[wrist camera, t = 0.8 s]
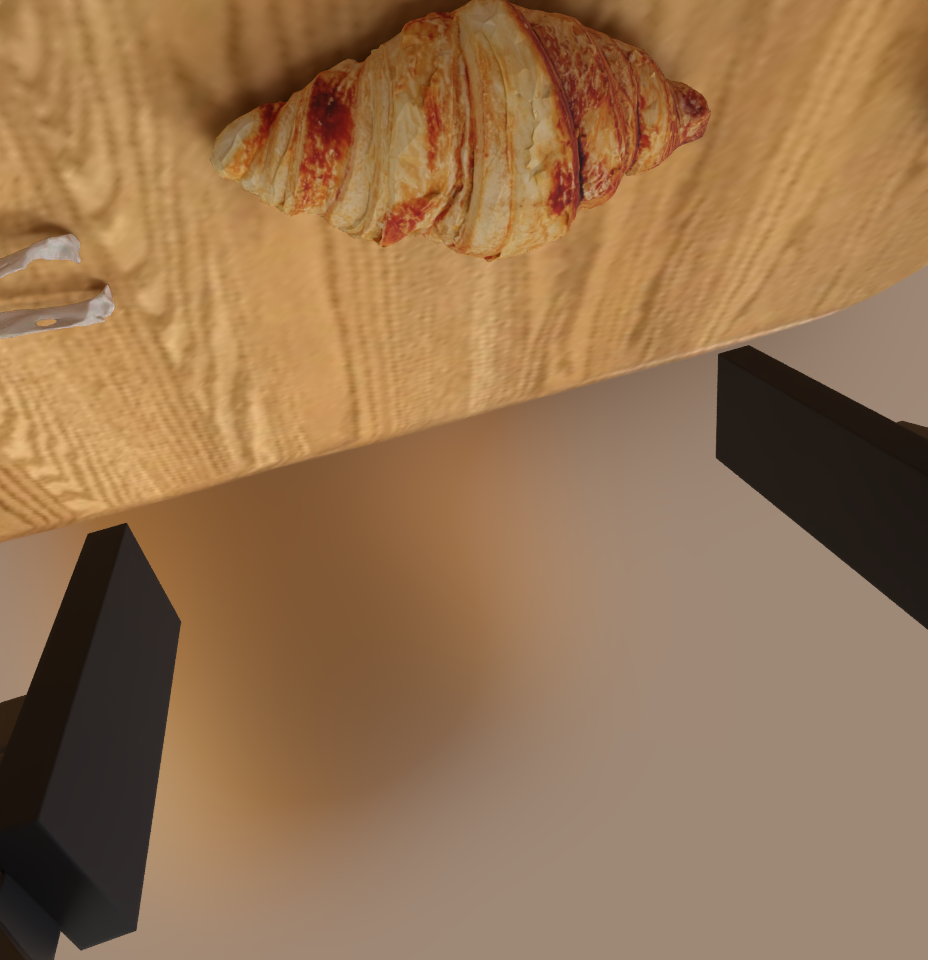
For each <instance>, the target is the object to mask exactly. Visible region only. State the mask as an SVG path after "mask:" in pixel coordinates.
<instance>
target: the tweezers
mask: <svg viewBox="0 0 928 960" xmlns="http://www.w3.org/2000/svg"><path fill="white" fill-rule="evenodd" d="M79 250H80V242H79V241H78V239H76V238H75V236H74V235H72V234H66V235H61V236H54V237H50V238H46V239H42V240H40V241H38V242H36V243H33V244H32V245H30V246H29V247H27V248H24V249H22V250H20V251H18V252H15V253H13V254H11V255H8V256H6V257H4V258H1V259H0V278H1V277H4V276H6V275H7V274H9V273H13V272H16V271H18V270H22V269H24V268H26V267H27V264H28V263H30V262H31V261H33V260H35V259H37V258H40V259H46V260H54V259H61V260H65V259H68V260H71V261H74V262H76V263H78V264H79V263H80V262H81V261H80V256H79ZM114 307H115V304H114V302H113V300H112V295H111V291H110V288H109V286H108V285H106V286H105V287H104V289H103V290H102V291H101V292H100V293H99V294H98V295H96V296H95V297H93V298H91V299H88V300H85V301H82V302H79V303H75V304H70V305H63V306H57V307H49V308H41V309H23V310H14V311H8V312H2V313H0V339H4V338H12V337H16V336H22V335H27V334H31V333H37V332H42V331H48V330H54V329H60V328H70V327H74V326H88V325H91V324H95V323H100V322H104V321H105V317H107V316H110V315H111V313H112V311H113V310H114ZM46 319H55V320H57V322H56V323H54V324H52V325H49V326H38V325H36V322H37V321H39V320H46Z"/></svg>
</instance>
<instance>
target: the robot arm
mask: <svg viewBox="0 0 928 960" xmlns="http://www.w3.org/2000/svg"><path fill="white" fill-rule="evenodd" d="M717 384H718V385H717V427H716V428H717V429H716V458H717V459H718V460H719V461H720V462H722V463H723V464H724V465H725V466H727V467H728V468H729V469H730V470H732V471H733V472H734V473H735V474H736V475H738V476H739V477H740V478H741V479H743V480H744V481H745V482H746V483H748V484H749V485H750V486H751V487H752V488H754V489H755V490H756V491H757V492H759V493H760V494H761V495H762V496H764V497H765V498H766V499H767V500H769V501H770V502H771V503H772V504H773V505H775V506H776V507H777V508H778V509H780V510H781V511H782V512H783V513H785V514H786V515H787V516H788V517H789V518H791V519H792V520H793V521H794V522H796V523H797V524H798V525H799V526H801V527H802V528H803V529H804V530H806V531H807V532H808V533H809V534H810V535H812V536H813V537H814V538H815V539H817V540H818V541H819V542H820V543H822V544H823V545H824V546H825V547H826V548H828V549H829V550H830V551H831V552H833V553H834V554H835V555H836V556H838V557H839V558H840V559H841V560H842V561H844V562H845V563H846V564H848V565H849V566H850V567H851V568H852V569H854V570H855V571H856V572H857V573H859V574H860V575H861V576H862V577H864V578H865V579H866V580H867V581H868V582H870V583H871V584H872V585H873V586H875V587H876V588H877V589H878V590H879V591H881V592H882V593H883V594H885V595H886V596H887V597H888V598H889V599H891V600H892V601H893V602H895V603H896V604H897V605H898V606H899V607H900V608H902V609H903V610H904V611H905V612H907V613H908V614H909V615H910V616H912V617H913V618H914V619H915V620H917V621H918V622H919V623H920V624H921V625H923V626H924V627H925V628H926V629H928V427H924V426H920V425H916V424H912V423H908V422H905V421H900V422H897V423H896V422H894V421H892V420H890V419H888V418H886V417H884V416H882V415H880V414H878V413H877V412H875V411H873V410H871V409H869V408H867V407H865V406H863V405H861V404H860V403H858V402H856V401H854V400H852V399H850V398H848V397H846V396H844V395H842V394H841V393H839V392H837V391H835V390H833V389H831V388H829V387H827V386H825V385H823V384H822V383H820V382H818V381H816V380H814V379H812V378H810V377H808V376H806V375H805V374H803V373H801V372H799V371H797V370H795V369H793V368H791V367H789V366H787V365H785V364H784V363H782V362H780V361H778V360H776V359H774V358H772V357H770V356H768V355H766V354H765V353H763V352H761V351H759V350H757V349H755V348H753V347H751V346H749V345H748V346H744V347H741V348H737V349H734V350H730V351H727V352H723V353H720V354H718V383H717ZM180 625H181V621H180V619H179V617H178V615H177V613H176V612H175V610H174V608H173V606H172V604H171V602H170V601H169V599H168V597H167V595H166V593H165V591H164V590H163V588H162V586H161V584H160V582H159V581H158V579H157V577H156V575H155V573H154V571H153V570H152V568H151V566H150V564H149V562H148V561H147V559H146V557H145V555H144V553H143V551H142V550H141V548H140V546H139V544H138V542H137V541H136V539H135V537H134V535H133V533H132V532H131V530H130V528H129V526H128V524H127V523H124V524H121V525H118V526H114V527H110V528H107V529H103V530H100V531H96V532H93V533H89V534H88V535H87V538H86V540H85V543H84V545H83V548H82V551H81V553H80V556H79V559H78V561H77V564H76V566H75V569H74V571H73V574H72V577H71V579H70V582H69V585H68V587H67V590H66V592H65V595H64V598H63V600H62V603H61V606H60V608H59V611H58V613H57V616H56V619H55V621H54V624H53V627H52V630H51V632H50V634H49V637H48V640H47V642H46V645H45V648H44V650H43V653H42V655H41V658H40V661H39V663H38V666H37V669H36V671H35V674H34V677H33V679H32V682H31V684H30V687H29V690H28V692H27V695H24V696H21V697H17V698H14V699H11V700H8V701H4V702H1V703H0V960H54V957H55V953H56V948H57V944H58V940H59V936H60V931H61V932H63V933H64V934H65V935H66V937H68V939H70V940H71V941H72V942H73V943H74V944H75V945H76V946H77V947H78V948H79V949H80V950H83V949H86V948H89V947H92V946H95V945H97V944H100V943H103V942H106V941H109V940H112V939H114V938H117V937H120V936H123V935H125V934H128V933H131V932H134V931H136V929H137V922H138V915H139V908H140V901H141V895H142V887H143V881H144V874H145V867H146V859H147V853H148V846H149V839H150V832H151V825H152V819H153V812H154V805H155V798H156V790H157V784H158V777H159V769H160V763H161V755H162V749H163V742H164V736H165V729H166V721H167V715H168V708H169V701H170V694H171V687H172V680H173V673H174V666H175V659H176V652H177V645H178V639H179V632H180Z"/></svg>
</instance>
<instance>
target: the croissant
mask: <svg viewBox="0 0 928 960" xmlns="http://www.w3.org/2000/svg"><path fill="white" fill-rule="evenodd" d="M710 115H711V111H710V110H709V108H708V105H707V101H706V100H705V98H704V97H703V95H702V94H700V93H699V92H697V91H696V90H694V89H692V88H691V87H689V86H688V85H686V84H684V83H682V82H674V81H669V80H668V79H666V78H665V77H664V75H663V74H662V72H661V70H660V68H659V67H658V66H657V65H656V63H655V62H654V61H653V60H652V59H651V58H650V57H649V56H648V54H647V53H646V52H645V51H644V50H642V49H640V48H637V47H634V46H632V45H628V44H626V43H624V42H622V41H620V40H617V39H611V38H610V37H609V36H608V35H607V34H604V33H602V32H600V31H597V30H595V29H593V28H589V27H585V26H583V25H582V24H581V23H580V22H579V21H578V20H577V19H576V18H573V17H570V16H567V15H564V14H561V13H547V12H544V11H541V10H530V9H527V8H524V7H521V6H518V5H515V4H512V3H510V2H508V1H507V0H471V1H470V2H468V3H467V4H466V5H465V6H462V7H460V8H458V9H456V10H454V11H453V12H432V13H429V14H427V15H425V16H423V17H421V18H418V19H415V20H412V21H409V22H408V23H407V24H405V25H404V27H403V29H402V32H401V33H399V34H398V35H396V36H395V37H393V38H392V39H391V40H389V41H387V42H386V43H384V44H381V45H380V46H379V48H378V49H374V50H371V55H369V56H368V57H367V58H366V59H365V61H364V62H360V63H358V62H357V61H356V60H353V59H347V60H344V61H342V62H340V63H339V64H337V65H336V66H334V67H332V68H331V69H329V70H327V71H323V72H320V73H319V74H318V75H317V76H316V77H315V78H314V79H313V81H311V82H310V83H309V84H308V85H307V86H306V87H305V88H304V89H303V90H300V91H298V92H295V93H293V95H292V96H291V97H290V99H289V100H288V102H277V103H265V104H263V105H261V106H259V107H257V108H255V109H253V110H252V111H250V112H249V113H247V114H245V115H243V116H241V117H239V118H237V119H236V120H235V121H233V122H232V123H230V124H229V125H227V126H226V128H225V129H224V130H223V131H222V132H221V133H220V134H219V135H218V137H217V138H216V139H215V144H214V149H213V152H212V155H211V158H210V161H211V163H212V165H213V166H214V168H215V170H216V172H217V173H218V174H219V175H220V176H221V177H222V178H224V179H231V180H234V181H236V182H237V183H239V184H241V186H242V188H243V189H244V190H245V191H248V192H251V193H254V194H256V195H258V196H259V199H260V201H261V202H263V203H265V204H268V205H270V206H276V207H277V208H278V209H279V210H280V211H281V212H283V213H285V214H287V215H290V216H293V215H296V214H299V213H301V212H307V213H308V214H314V215H317V216H320V217H324V218H325V220H326V222H327V223H328V224H330V225H331V226H332V227H338V229H339V230H341V231H343V232H345V233H347V234H348V235H349V236H351V237H352V238H354V239H366V240H367V241H375V242H376V243H378V245H379V246H382V247H384V248H385V247H387V246H389V245H391V244H393V243H396V242H398V241H399V240H400V239H402V238H403V237H405V236H408V237H416V236H419V235H422V236H424V237H425V238H427V239H428V240H430V241H432V242H434V243H435V244H437V245H443V246H447V247H448V248H450V249H452V250H454V251H455V252H457V253H459V254H464V255H469V256H474V257H479V258H484V259H485V260H486V261H487V262H491V261H493V260H497V259H500V258H504V257H511V256H518V255H520V254H522V253H524V252H528V251H531V250H534V249H536V248H538V247H540V246H543V245H545V244H547V243H550V242H552V241H554V240H557V239H559V238H561V237H562V236H563V235H567V234H568V233H569V231H570V226H571V222H572V221H574V220H575V217H576V211H578V210H581V209H583V208H588V209H590V208H593V207H596V206H599V205H602V204H603V203H605V202H606V201H607V200H609V199H610V198H611V197H612V196H613V194H614V193H615V191H616V189H617V187H618V185H619V183H620V182H621V179H622V177H623V175H624V174H626V176H630V175H641V174H643V173H645V172H646V171H648V170H650V169H652V168H654V167H656V166H658V165H659V164H660V163H661V162H663V161H664V160H665V159H666V158H667V157H668V156H669V155H670V154H671V153H672V152H673V151H674V150H675V149H676V148H677V147H679V146H680V145H683V144H685V143H688V142H691V141H694V140H696V139H699V138H701V137H702V136H703V135H704V133H705V131H706V127H707V124H708V121H709V118H710Z"/></svg>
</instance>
